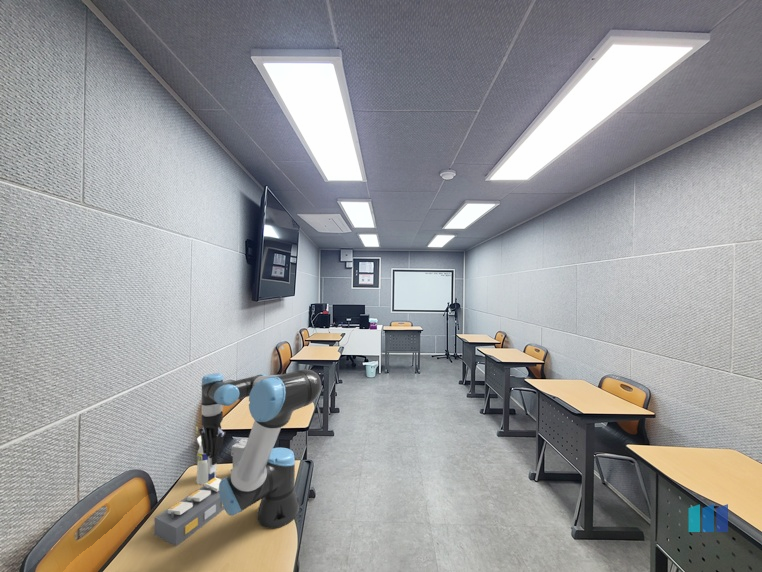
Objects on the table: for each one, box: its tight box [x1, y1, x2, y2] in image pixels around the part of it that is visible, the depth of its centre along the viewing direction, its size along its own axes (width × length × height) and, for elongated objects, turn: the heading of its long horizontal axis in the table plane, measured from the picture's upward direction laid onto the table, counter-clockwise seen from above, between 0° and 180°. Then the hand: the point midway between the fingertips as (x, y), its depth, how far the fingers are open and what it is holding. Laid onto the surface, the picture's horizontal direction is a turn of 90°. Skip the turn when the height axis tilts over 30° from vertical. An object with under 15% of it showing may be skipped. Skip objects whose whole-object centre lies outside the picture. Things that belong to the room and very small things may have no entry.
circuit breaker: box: [230, 438, 248, 473], centre depth 134 cm, size 8×14×15 cm, turn 78°
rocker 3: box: [204, 476, 222, 492], centre depth 117 cm, size 7×4×1 cm, turn 67°
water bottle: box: [195, 426, 217, 485], centre depth 132 cm, size 8×9×25 cm
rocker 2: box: [186, 489, 211, 502], centre depth 110 cm, size 7×4×1 cm, turn 67°
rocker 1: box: [167, 501, 193, 515], centre depth 104 cm, size 7×4×1 cm, turn 67°
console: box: [153, 477, 225, 547], centre depth 110 cm, size 12×24×8 cm, turn 157°
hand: (212, 471), depth 118 cm, fingers closed
